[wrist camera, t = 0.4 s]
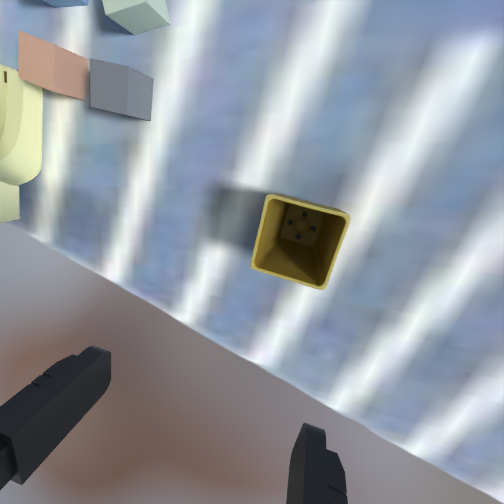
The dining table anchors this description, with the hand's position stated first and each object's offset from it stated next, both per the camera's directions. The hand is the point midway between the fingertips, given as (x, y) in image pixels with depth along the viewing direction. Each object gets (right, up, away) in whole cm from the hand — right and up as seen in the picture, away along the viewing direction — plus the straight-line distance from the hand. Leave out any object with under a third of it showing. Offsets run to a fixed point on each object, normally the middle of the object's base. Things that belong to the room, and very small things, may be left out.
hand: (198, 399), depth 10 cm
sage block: (-11, +35, +21) cm, 43 cm away
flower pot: (+9, +9, +26) cm, 29 cm away
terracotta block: (-23, +30, +26) cm, 46 cm away
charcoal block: (-14, +27, +25) cm, 39 cm away
